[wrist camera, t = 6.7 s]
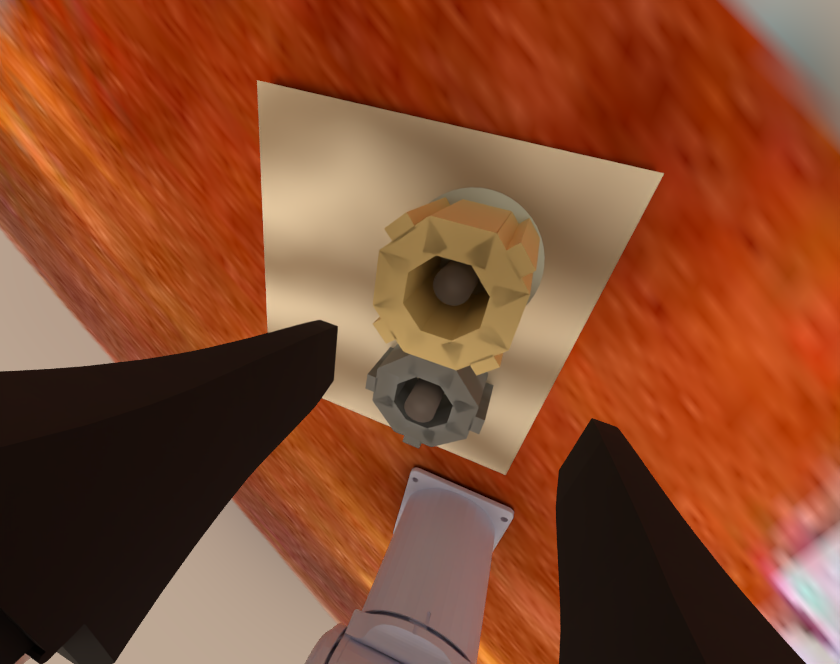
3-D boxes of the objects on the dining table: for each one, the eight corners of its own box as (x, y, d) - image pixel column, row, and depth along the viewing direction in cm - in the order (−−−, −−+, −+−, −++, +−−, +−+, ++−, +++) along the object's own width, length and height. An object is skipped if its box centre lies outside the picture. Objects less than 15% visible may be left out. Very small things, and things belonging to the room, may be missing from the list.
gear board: (507, 460, 23) (498, 525, 19) (280, 367, 26) (232, 405, 22) (655, 172, 13) (699, 178, 10) (274, 84, 17) (190, 62, 13)
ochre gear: (509, 328, 17) (495, 384, 13) (410, 297, 18) (368, 339, 14) (548, 220, 14) (548, 246, 10) (429, 190, 15) (384, 203, 11)
